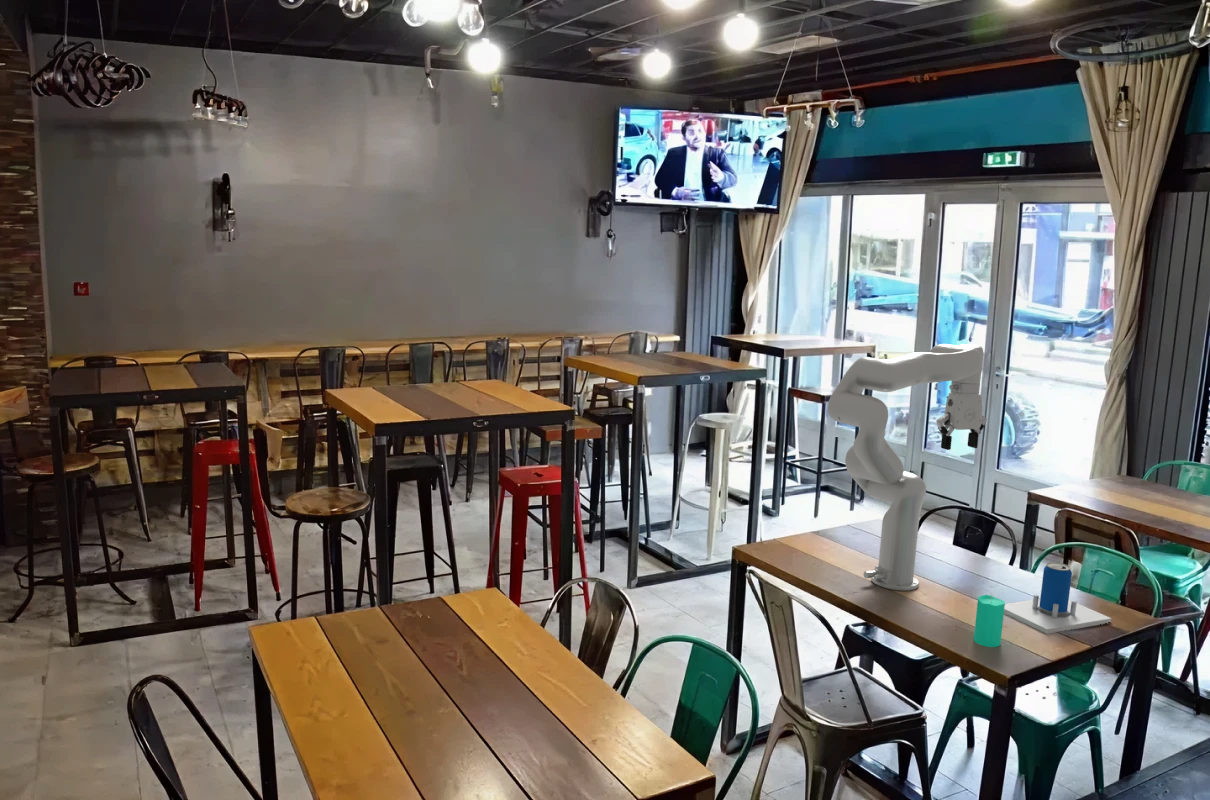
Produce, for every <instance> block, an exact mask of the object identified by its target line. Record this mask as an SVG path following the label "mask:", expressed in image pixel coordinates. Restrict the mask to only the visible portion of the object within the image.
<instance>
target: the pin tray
mask: <svg viewBox="0 0 1210 800" xmlns="http://www.w3.org/2000/svg"><path fill="white" fill-rule="evenodd" d="M1039 597H1040V596H1039V595H1038V594H1034V595H1033V597H1032V598H1033V599H1030V600H1029V599H1028V600H1023V601H1015V602H1009V603H1005V608H1004V615H1007V616H1009V617H1011V618H1013V619H1014V620H1017V621H1019V622H1022V623H1024V624H1025V625H1027V626H1030V627H1032V628H1034V629H1035V630H1038V631H1040V632H1042V633H1044V634H1047V635H1048V634H1053V633H1059V631H1060V632H1064V631H1065V630H1066V631H1070V630H1071V629H1072V630H1077V629H1083V628H1087V627H1094V626H1100V624H1101V625H1105V623H1107V624H1109V623H1108V622H1111V623H1112V617H1109V616H1107V615H1105V614H1102V613H1100V612H1098V611H1096V610H1093V609H1091V608H1089V607H1086V606H1084V605H1082V604H1079V603H1078V602H1077V601H1076V600H1070V599H1069V601H1068V609H1067V612H1065V613H1063V614H1060V615H1058V607H1059V605H1058V604H1053V612H1052V614H1051V613H1047V612H1045V611H1043V609H1042V608H1041V607H1040V598H1039ZM1072 630H1071V631H1072ZM1066 631H1065V632H1066Z"/></svg>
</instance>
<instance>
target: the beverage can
mask: <svg viewBox="0 0 1210 800" xmlns="http://www.w3.org/2000/svg"><path fill="white" fill-rule="evenodd" d="M1042 573H1043V574H1042V581H1041V589H1040V596H1039V597H1040V598H1039V599H1040V607H1041V608H1042V609H1043V611H1045V612H1047V613H1051V614H1052V612H1053V604H1058V605H1059V607H1058V615H1060V614H1063V613H1065V612H1067V609H1068V601H1069V600H1070V591H1071V584H1072V575H1073V572H1072V570H1071V566H1070V565H1068V564H1065V563H1063V562H1062V563H1061V562H1056V561H1055V562H1053V561H1051V562H1050V561H1049V562H1047V563H1046V564H1045V566H1044V567H1043V572H1042Z"/></svg>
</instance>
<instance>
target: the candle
mask: <svg viewBox="0 0 1210 800" xmlns="http://www.w3.org/2000/svg"><path fill="white" fill-rule="evenodd" d="M1005 604H1006V602H1005V600H1003V599H1000V598H998V597H997V596H993V595H989V594H983V595H982V594H981V595H979V596H977V603H976V614H975V622H974V623H975V625H974V633H973V641H974V642H975V644H976V645H981V646H983V647H988V648H998V647H999V646H1001V643H1002V635H1003V634H1002V633H1003V626H1004V625H1003V623H1004V617H1005V616H1004V615H1005V613H1004V608H1005Z"/></svg>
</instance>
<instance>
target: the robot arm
mask: <svg viewBox="0 0 1210 800" xmlns="http://www.w3.org/2000/svg"><path fill="white" fill-rule="evenodd" d="M983 359H984V348H983V347H982V346H980V345H979V344H969V343H960V344H957V345H956V344H949V343H939V344H937V345H935V346H933V347H932V348H931V349H930V350H929V352H926V351H924V352H923V351H920V352H918V351H917V352H913V351H912V352H909V353H906V354H903V355H899V356H895V357H891V358H886V359H882V358H877V357H870V356H862V357H860V358H858V359H857V360H856V361H854V363H852V364H851V366H850V367H849V368H848V369H847V371H846V372H845V374H844V375H843V377H842V378H841V380H840V381H839V383H838V385H836V387H835V389H834V391H833V392H832V394H831V395H830V398H829V400H828V403H827V413H828V415H829V416H830V418H831V419H832V420H833V421H836V422H837V423H840V424H845V425H849V426H854V427H857V428H858V429H859V430H858V433H857V435H856V437H855V440H854V441H853V445H852V446H851V447H850V448H849V449H848V451H846V454H845V461H844V463H845V468H846V470H847V473H848V474H849V475H850V477H851V478H852V480H853V481H855V483H857V485H858V486H859V487H860V488H861V489H862V491H863V492H864V493H865V494H867V495H868V496H870V497H871V498H874V499H876V500H880V501H883V502H886V503H888V504H890V507H889V508H888V509H887V511H886V512H885V513H884V515H883V517H882V522H881V533H880V543H879V545H880V546H879V555H878V556H879V557H878V565H877V564H876V565H875V567H874V569H872V570H865V571H864V572H863V577H864V578H865V579H871V582H873V584H874V585H876V584H877V585H876V586H878V587H882V588H884V589H888V590H892V591H894V590H895V591H903V592H904V591H905V592H906V591H913V590H915V589H917V588H919V586H920V581H919V580H918V579H917V577H914V575H915V565H916V556H917V544H918V537H919V536H918V533H919V525H920V524H919V523H920V516H921V513H922V512H921V510H922V507H923V503H924V501H925V499H926V498H925V497H926V493H927V485H926V483H925V481H924V479H922V478H921V477H920V476H919V475H916V474H915V473H912V472H910V471H906V470H905V469H904V465H903V462H902V459H901V458H900V457H899V456H898V454H897V453H896V451H895V450H894V449H893V448H892V446H890V445H889V443H888V442H887V440H886V439H885V432H886V427H887V423H888V419H889V409H888V407H887V405H886V403H884V401H883V400H881V399H879V398H877V397H874V396H871V395H867V394H862V393H863V392H864V390H870V391H876V392H881V393H892V392H896V391H898V390H899V391H900V390H903V389H905V388H908V387H912V386H917V385H919V384H920V385H921V384H932V383H942V382H951V383H950V385H949V387H948V388H949V390H950V392H949V393H948V396H947V399H946V403H945V408H944V414H943V415H942V416H940V417H939V418H938V419H936V425H937V429H938V431H939V432H940V435H941V443H940V447H941V449H944V450H946V451H951V450H952V449H951V448H952V441H953V440H952V438H953V437H952V433H953V432H954V431H955V430H956V431H957V430H958V431H959V430H960V431H961V430H969V431H970V432H968V437H967V446H968V447H970V448H973V449H978V443H979V435H981V433H982V431H983V430H984V427H985V425H986V423H987V421H988V418H987V417H986V416H984V415H983V401H982V394H981V393H980V390H981V389H980V387H981V378H982V367H983Z"/></svg>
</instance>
